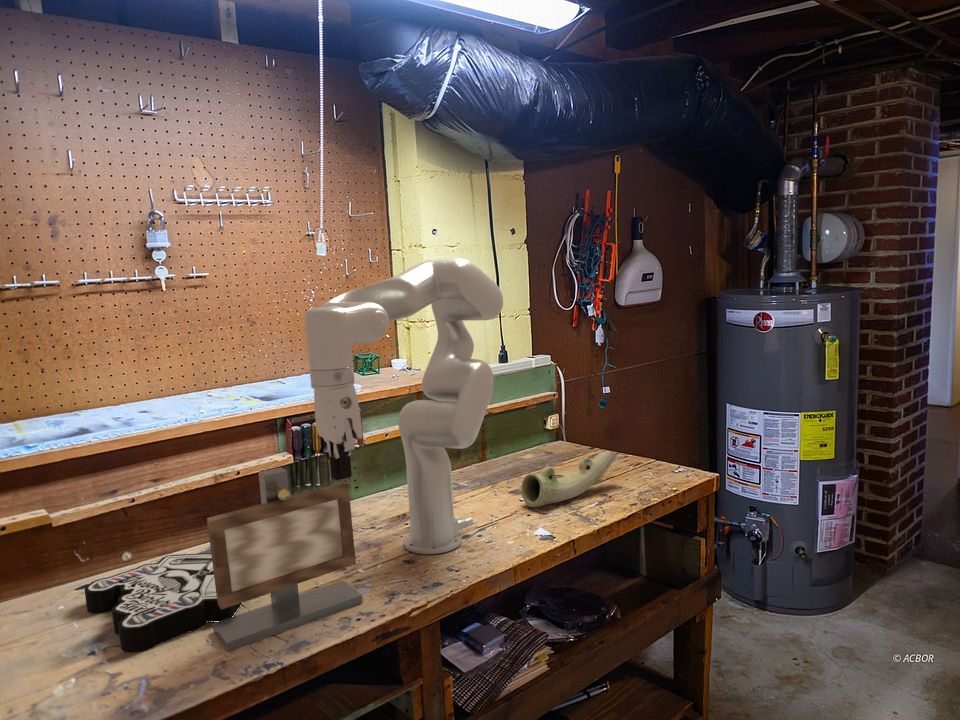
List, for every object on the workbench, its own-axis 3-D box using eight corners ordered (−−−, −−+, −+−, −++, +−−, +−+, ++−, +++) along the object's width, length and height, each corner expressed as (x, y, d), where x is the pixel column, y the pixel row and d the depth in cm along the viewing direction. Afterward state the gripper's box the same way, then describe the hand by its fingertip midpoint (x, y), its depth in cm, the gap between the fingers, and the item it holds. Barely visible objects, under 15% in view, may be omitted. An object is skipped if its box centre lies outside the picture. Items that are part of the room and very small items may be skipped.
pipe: (541, 514, 163) (539, 474, 161) (518, 506, 169) (516, 467, 168) (619, 486, 180) (618, 449, 178) (595, 479, 186) (594, 444, 185)
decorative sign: (78, 583, 129) (232, 534, 149) (81, 606, 129) (234, 554, 150) (127, 636, 109) (297, 571, 129) (131, 662, 109) (299, 593, 130)
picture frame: (351, 560, 126) (343, 482, 124) (355, 564, 125) (348, 485, 123) (217, 605, 113) (206, 518, 110) (221, 609, 111) (210, 521, 109)
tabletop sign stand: (343, 587, 130) (332, 455, 127) (362, 602, 124) (351, 464, 120) (213, 631, 117) (197, 484, 113) (227, 651, 110) (210, 496, 107)
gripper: (371, 378, 116) (379, 482, 119) (334, 370, 128) (343, 464, 131) (329, 385, 112) (340, 493, 115) (296, 376, 124) (306, 473, 127)
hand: (341, 477), depth 123 cm, fingers closed
